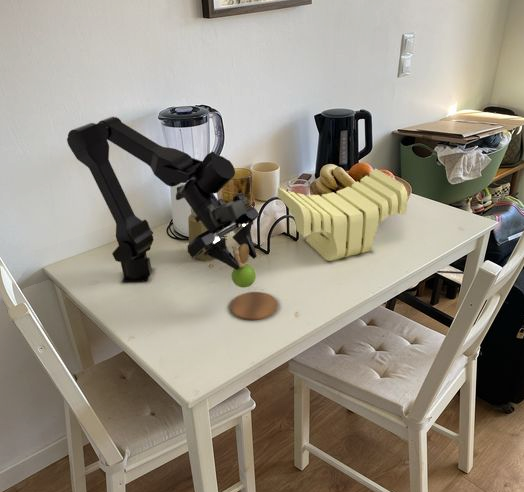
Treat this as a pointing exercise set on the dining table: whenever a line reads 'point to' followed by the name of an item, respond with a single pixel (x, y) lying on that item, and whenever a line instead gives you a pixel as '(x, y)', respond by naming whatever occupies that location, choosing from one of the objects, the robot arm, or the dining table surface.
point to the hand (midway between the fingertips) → (246, 263)
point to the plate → (253, 306)
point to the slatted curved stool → (346, 214)
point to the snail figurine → (243, 267)
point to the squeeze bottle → (196, 232)
